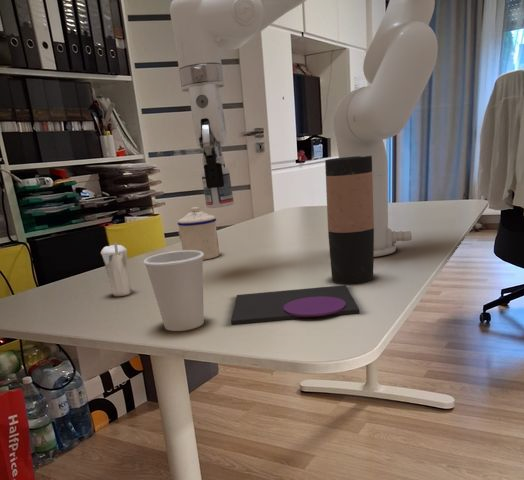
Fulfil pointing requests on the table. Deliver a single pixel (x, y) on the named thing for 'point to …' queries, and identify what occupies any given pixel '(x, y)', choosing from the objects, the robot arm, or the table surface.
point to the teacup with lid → (199, 233)
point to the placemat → (293, 304)
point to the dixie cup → (178, 288)
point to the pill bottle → (218, 190)
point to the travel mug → (350, 218)
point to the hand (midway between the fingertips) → (217, 185)
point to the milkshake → (117, 269)
